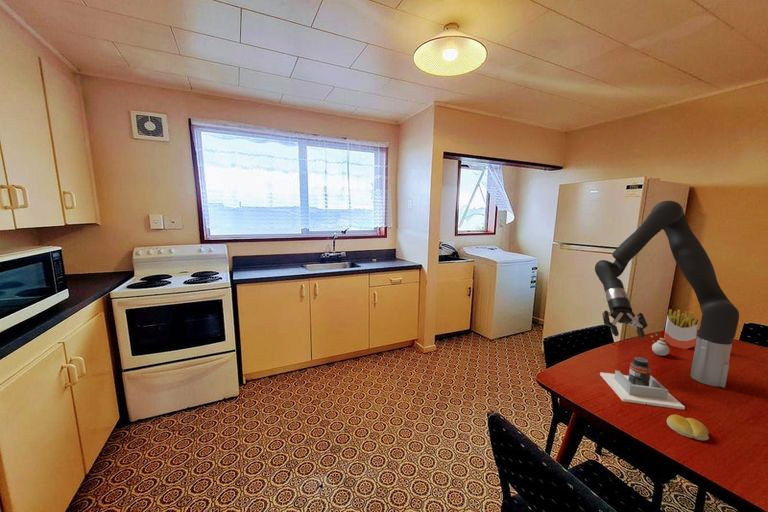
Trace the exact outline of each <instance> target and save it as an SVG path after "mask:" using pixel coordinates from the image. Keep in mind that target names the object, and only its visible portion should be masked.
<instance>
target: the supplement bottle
mask: <svg viewBox="0 0 768 512" xmlns="http://www.w3.org/2000/svg"><path fill="white" fill-rule="evenodd" d="M628 372H629V373H628V376H629V379H628V381H629V382H630V383H631V384H634V385H642V386H649V381H650V375H651V373H652V368H651V367H650V366H649V361H648V359H646V358H645V357H639V356H636V357H634V358H633V361H632V362H630V365H629V371H628Z"/></svg>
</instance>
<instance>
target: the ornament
mask: <svg viewBox="0 0 768 512" xmlns="http://www.w3.org/2000/svg"><path fill="white" fill-rule="evenodd" d="M655 336H656V337H657V336H658V333H655ZM650 337H651V338H654V336H653V335H650ZM653 342H654V343H653V344H652V345H651V349H652V352H653V353H654V354H656V355H657V356H667V355H668V354H669V353H670V347H669V345H667V342H666V341H665V339H664V337H659V340H657V341H656V342H655V341H654V340H653Z"/></svg>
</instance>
